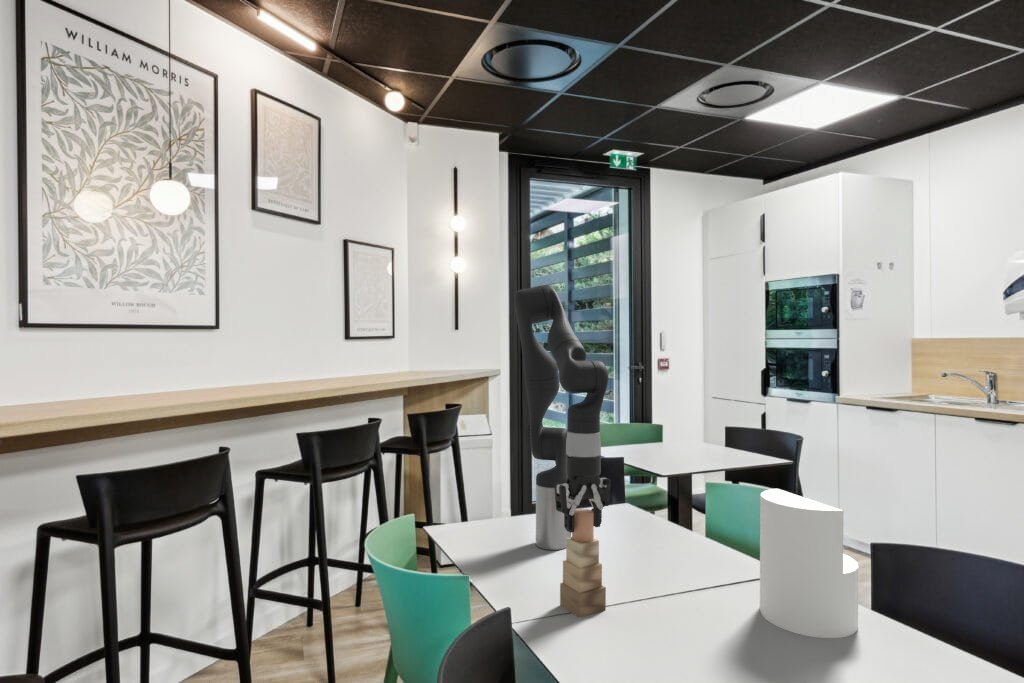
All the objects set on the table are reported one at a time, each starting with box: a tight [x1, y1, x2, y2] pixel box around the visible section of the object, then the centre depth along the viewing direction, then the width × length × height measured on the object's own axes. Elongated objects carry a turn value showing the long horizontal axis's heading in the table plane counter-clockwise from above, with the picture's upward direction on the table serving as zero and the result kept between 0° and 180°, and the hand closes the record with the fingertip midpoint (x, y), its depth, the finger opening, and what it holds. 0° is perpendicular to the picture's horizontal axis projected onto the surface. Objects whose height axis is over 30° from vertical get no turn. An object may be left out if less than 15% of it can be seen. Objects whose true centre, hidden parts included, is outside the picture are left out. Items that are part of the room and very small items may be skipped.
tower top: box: [565, 536, 600, 568], centre depth 135 cm, size 5×5×5 cm
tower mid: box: [562, 559, 603, 593], centre depth 135 cm, size 6×6×5 cm
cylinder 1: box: [571, 508, 595, 543], centre depth 135 cm, size 5×5×6 cm
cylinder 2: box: [759, 488, 859, 639], centre depth 131 cm, size 19×19×25 cm
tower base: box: [559, 581, 607, 618], centre depth 135 cm, size 7×7×5 cm
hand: (583, 528), depth 135 cm, fingers open, 6 cm apart
